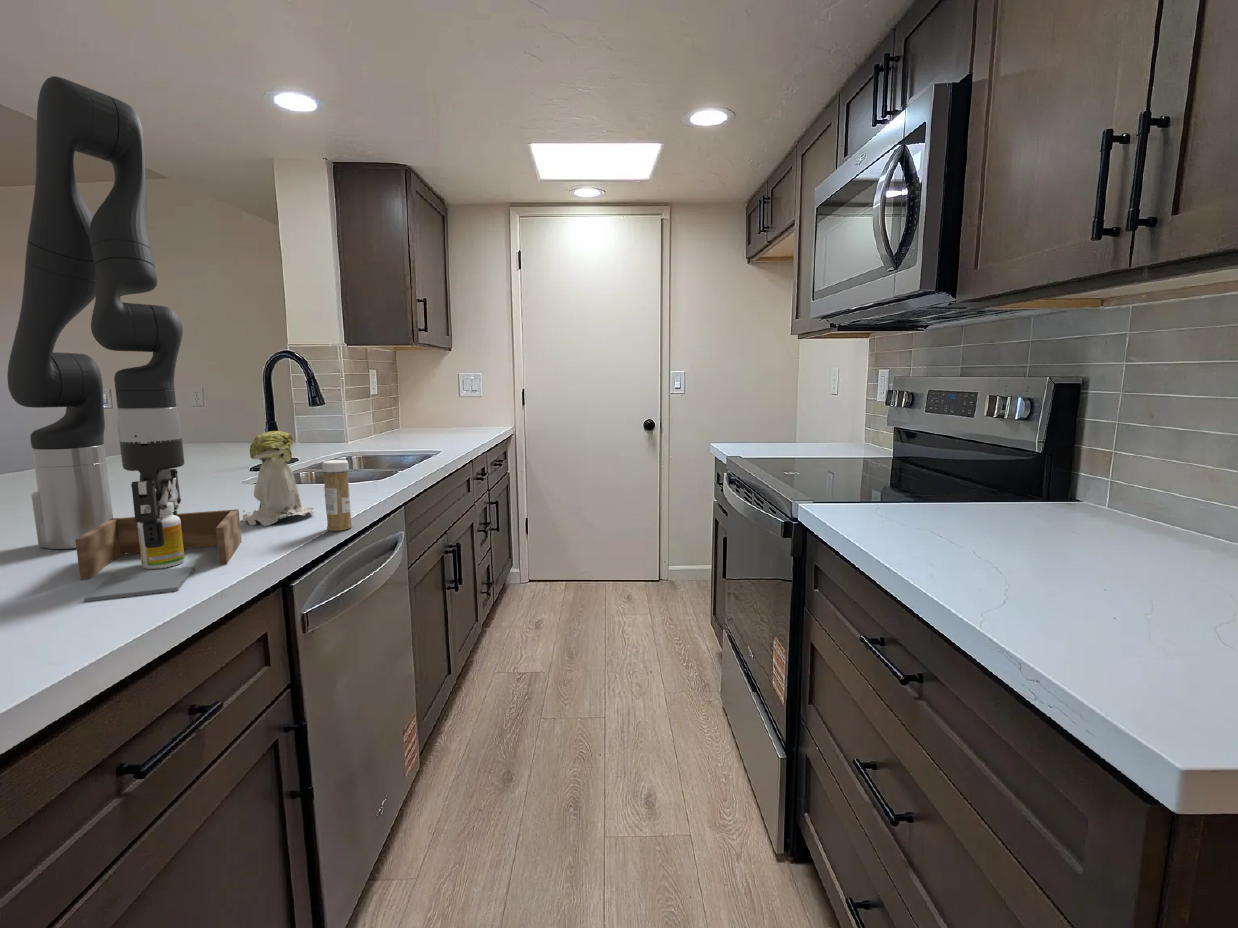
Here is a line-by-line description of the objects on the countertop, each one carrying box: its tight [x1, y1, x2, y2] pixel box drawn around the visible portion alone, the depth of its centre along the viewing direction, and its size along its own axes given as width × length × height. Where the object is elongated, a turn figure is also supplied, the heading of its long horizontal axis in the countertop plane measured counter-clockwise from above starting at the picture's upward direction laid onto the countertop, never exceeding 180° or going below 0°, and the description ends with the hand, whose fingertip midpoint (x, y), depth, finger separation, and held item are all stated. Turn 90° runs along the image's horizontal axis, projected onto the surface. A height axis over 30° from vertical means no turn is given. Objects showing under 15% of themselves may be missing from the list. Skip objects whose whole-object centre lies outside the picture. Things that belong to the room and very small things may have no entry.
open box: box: [75, 508, 242, 580], centre depth 95 cm, size 14×18×6 cm
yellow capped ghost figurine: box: [242, 430, 315, 527], centre depth 122 cm, size 12×13×18 cm
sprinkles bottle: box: [321, 459, 353, 532], centre depth 114 cm, size 5×5×14 cm
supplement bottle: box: [137, 502, 186, 570], centre depth 92 cm, size 5×5×10 cm
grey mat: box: [84, 565, 196, 602], centre depth 84 cm, size 10×10×1 cm
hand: (163, 540), depth 92 cm, fingers open, 8 cm apart
